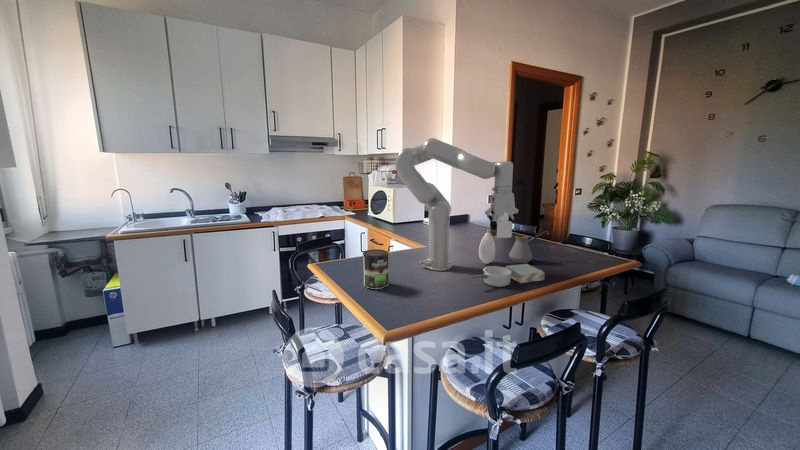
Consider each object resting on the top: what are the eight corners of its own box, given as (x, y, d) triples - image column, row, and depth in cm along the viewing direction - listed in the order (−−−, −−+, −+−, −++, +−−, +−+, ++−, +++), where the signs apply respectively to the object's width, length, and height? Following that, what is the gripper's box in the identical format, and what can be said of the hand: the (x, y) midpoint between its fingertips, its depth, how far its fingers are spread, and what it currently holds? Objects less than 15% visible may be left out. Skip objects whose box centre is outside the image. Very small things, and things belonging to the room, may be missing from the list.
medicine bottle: (490, 234, 154) (491, 209, 152) (505, 234, 155) (506, 208, 152) (496, 238, 147) (497, 211, 145) (511, 237, 148) (513, 211, 145)
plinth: (520, 283, 139) (521, 274, 138) (503, 273, 150) (504, 265, 149) (544, 280, 142) (545, 271, 142) (526, 271, 154) (526, 263, 153)
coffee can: (392, 287, 135) (392, 253, 132) (369, 292, 130) (368, 257, 127) (382, 279, 144) (381, 247, 141) (359, 283, 139) (359, 251, 136)
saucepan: (461, 285, 137) (461, 272, 136) (496, 276, 147) (497, 264, 146) (481, 295, 127) (481, 281, 126) (517, 285, 137) (518, 272, 136)
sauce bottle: (475, 264, 164) (477, 228, 161) (481, 260, 171) (483, 225, 167) (491, 266, 160) (493, 230, 157) (496, 262, 166) (498, 227, 163)
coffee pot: (517, 265, 162) (519, 235, 159) (503, 259, 173) (505, 230, 170) (553, 261, 168) (556, 232, 165) (538, 255, 178) (540, 228, 176)
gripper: (490, 191, 141) (489, 231, 144) (525, 189, 146) (522, 228, 149) (481, 190, 148) (479, 228, 151) (514, 188, 153) (512, 225, 156)
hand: (501, 228), depth 150 cm, fingers closed on medicine bottle, 8 cm apart
